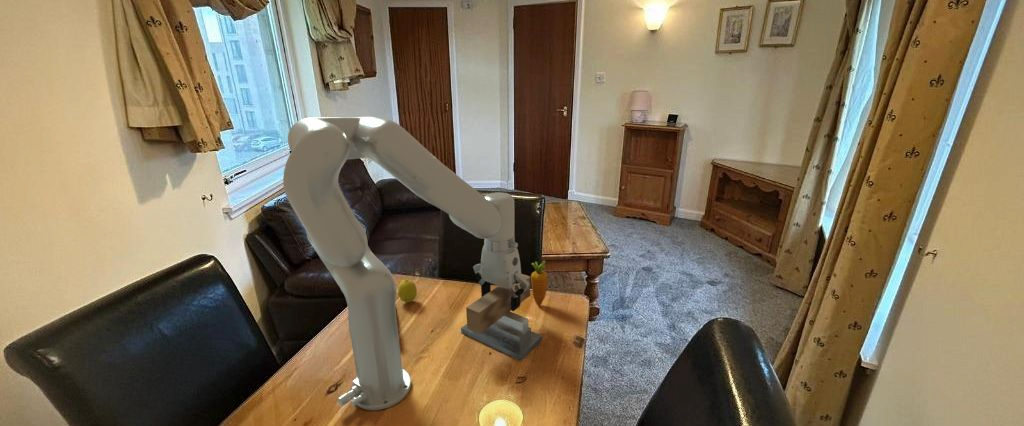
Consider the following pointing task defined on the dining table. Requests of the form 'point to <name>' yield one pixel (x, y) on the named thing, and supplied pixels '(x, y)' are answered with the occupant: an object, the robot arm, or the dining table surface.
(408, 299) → the lemon
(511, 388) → the dining table surface
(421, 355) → the dining table surface
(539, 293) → the carrot
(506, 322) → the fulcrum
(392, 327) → the robot arm
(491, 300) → the walnut beam
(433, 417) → the dining table surface
